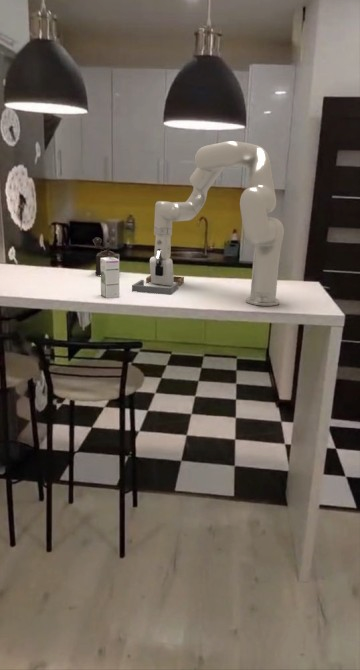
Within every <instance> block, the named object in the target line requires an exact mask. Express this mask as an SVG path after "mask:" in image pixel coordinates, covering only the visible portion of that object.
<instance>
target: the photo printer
mask: <svg viewBox="0 0 360 670" xmlns="http://www.w3.org/2000/svg"><path fill="white" fill-rule="evenodd" d="M160 259H162V258H160ZM155 267H156V259H155V257H154V256H151V257H150V259H149V271H150V275H151V282H150V283H151V284H154V285H155V284H156V285H162V286H170V287H171V286H172V285H173V284H175V282H174V276H175V275H174V263H173V259H172V258H171V257H170V258H168V257H167V259H166V260H164V259H163V266H162V267H163V276H156V275H155Z"/></svg>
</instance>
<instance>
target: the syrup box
mask: <svg viewBox="0 0 360 670" xmlns="http://www.w3.org/2000/svg"><path fill="white" fill-rule="evenodd" d="M100 262H101V276H100V295H101V296H102V297H104V298H105V299H113V298H120V258H119V259H116V258H113V257H105V258H101V259H100Z"/></svg>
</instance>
